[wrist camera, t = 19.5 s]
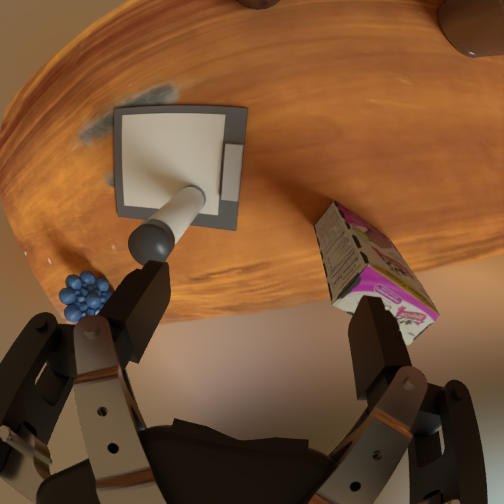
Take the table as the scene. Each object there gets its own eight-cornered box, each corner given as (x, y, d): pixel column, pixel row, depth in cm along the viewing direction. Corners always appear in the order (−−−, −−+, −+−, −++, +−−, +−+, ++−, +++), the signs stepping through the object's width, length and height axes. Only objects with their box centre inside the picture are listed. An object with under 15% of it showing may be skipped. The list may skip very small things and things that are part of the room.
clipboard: (116, 108, 29) (110, 109, 28) (248, 108, 29) (246, 108, 27) (119, 215, 37) (114, 219, 36) (236, 229, 37) (234, 234, 35)
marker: (178, 183, 33) (125, 225, 21) (207, 185, 33) (166, 230, 21) (179, 210, 35) (130, 264, 23) (206, 213, 35) (168, 270, 23)
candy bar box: (392, 239, 35) (443, 315, 21) (371, 264, 37) (408, 348, 23) (333, 196, 33) (369, 264, 19) (311, 226, 35) (329, 308, 21)
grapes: (76, 263, 43) (39, 302, 33) (95, 251, 41) (55, 291, 31) (112, 310, 48) (83, 353, 37) (133, 302, 46) (104, 349, 35)
